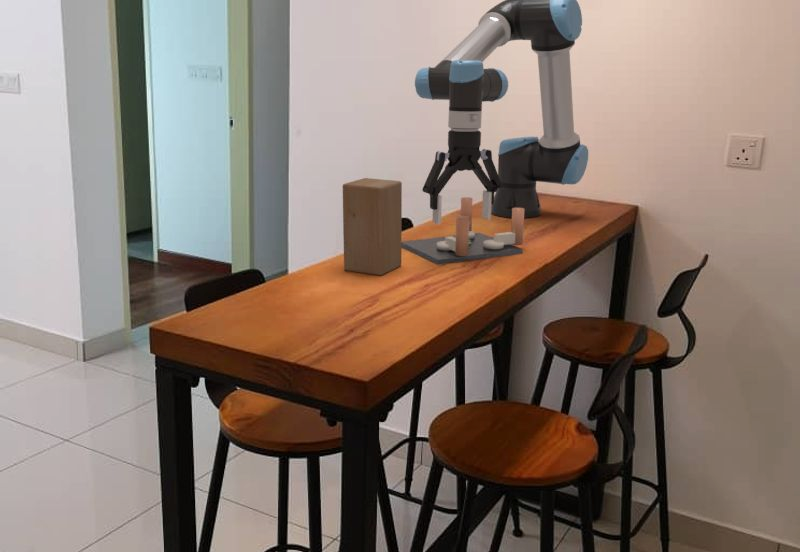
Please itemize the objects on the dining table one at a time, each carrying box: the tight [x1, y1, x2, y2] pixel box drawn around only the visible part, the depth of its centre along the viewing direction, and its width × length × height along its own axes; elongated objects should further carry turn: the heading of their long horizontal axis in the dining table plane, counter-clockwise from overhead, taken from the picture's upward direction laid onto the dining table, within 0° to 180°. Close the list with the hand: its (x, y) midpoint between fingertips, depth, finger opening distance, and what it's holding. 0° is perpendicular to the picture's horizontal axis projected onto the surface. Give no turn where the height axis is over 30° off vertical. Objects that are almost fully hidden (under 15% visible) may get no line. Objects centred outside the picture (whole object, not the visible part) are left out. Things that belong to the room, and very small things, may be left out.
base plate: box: [401, 232, 524, 266], centre depth 201 cm, size 24×20×2 cm
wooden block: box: [342, 177, 403, 276], centre depth 182 cm, size 10×10×20 cm
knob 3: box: [483, 208, 525, 249], centre depth 198 cm, size 11×5×9 cm, turn 117°
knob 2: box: [454, 196, 476, 239], centre depth 210 cm, size 11×5×9 cm, turn 173°
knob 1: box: [437, 215, 469, 256], centre depth 193 cm, size 11×5×9 cm, turn 27°
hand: (461, 220), depth 189 cm, fingers open, 13 cm apart
